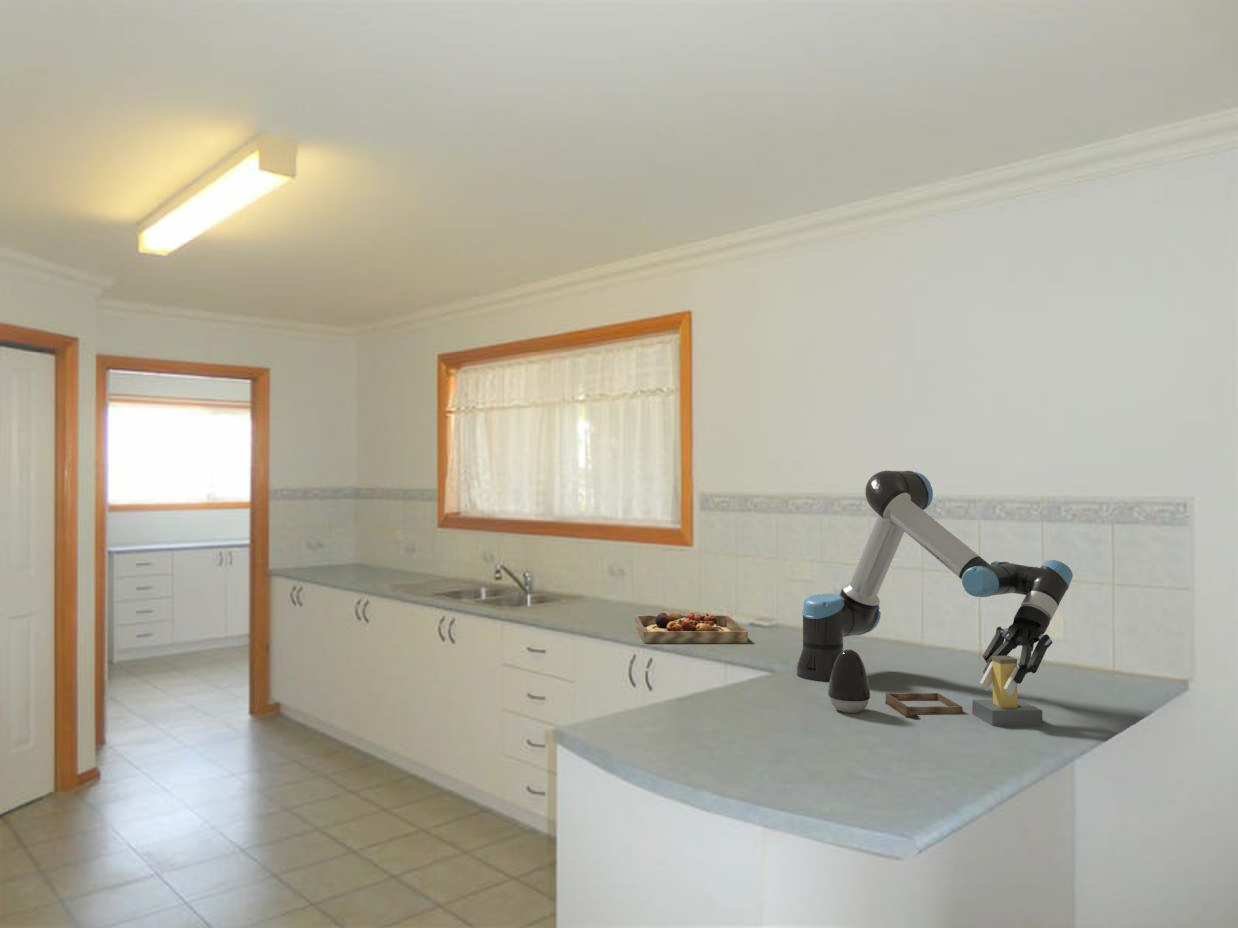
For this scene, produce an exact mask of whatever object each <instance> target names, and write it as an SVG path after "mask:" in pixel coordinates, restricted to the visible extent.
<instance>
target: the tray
mask: <svg viewBox="0 0 1238 928" xmlns="http://www.w3.org/2000/svg"><path fill="white" fill-rule="evenodd" d="M901 700H902V701H904V700H905V701H910V700H911V701H914V700H915V701H916V700H917V701H918V700H919V701H921V700H922V701H924V700H927V701H930V700H932V701H934V700H936V701H939V702H940V703H942V704H943V705H945V706H942V705H941V706H939V705H938V706H934V705H933V706H928V705H927V706H908V705H906V704H905V703H904V702H902V701H901ZM885 704H886V705H888V706H889V707H890V708H892V709H893V710H895V711H897V712H898V713H899V714H900V715H902V716H904V717H905V718H920V716H919V715H918V714H920V715H921V714H923V715H924V714H931V715H932V714H963V707H964V706H962V705H960V704H958V703H957V702H955V701H953V700H952V699H949V698H948V697H946V696H944V695H943V694H941V693H939V692H912V693H911V692H910V693H909V692H898V693H897V692H892V693H891V692H890V693H889V692H886V693H885Z"/></svg>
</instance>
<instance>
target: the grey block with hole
mask: <svg viewBox="0 0 1238 928" xmlns="http://www.w3.org/2000/svg"><path fill="white" fill-rule="evenodd" d="M971 709H972V712H971V714H972V715H973V716H975V717H977V718H978V719H980V720H982V721H983V722H985V723H987V724H988V725H990V726H992V727H995V726H996V727H1004V726H1005V727H1009V726H1010V727H1014V726H1015V727H1016V726H1017V727H1021V726H1022V727H1023V726H1028V727H1029V726H1032V727H1033V726H1035V727H1036V726H1043V709H1040V708H1039V707H1036V706H1034V705H1032V704H1030V703H1029V702H1026V701H1024V700H1022V699H1018V708H1001V707H999V706H998V705H996V704H994V703H993V699H972V707H971Z"/></svg>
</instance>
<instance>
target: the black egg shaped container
mask: <svg viewBox="0 0 1238 928" xmlns="http://www.w3.org/2000/svg"><path fill="white" fill-rule="evenodd" d="M868 677H869V676H868V675H867V670H866V667H865V664H864V662H863V660H862V657H861V656H860V654H859V653H858V652H857V651H855V650H853V649H843V651H842V652H841V653H840V654H839V655H838V657H837V659H836V661H835V663H834V666H833V669H832V673H831V677H830V681H828V682H829V683H828V688H827V689H828V690H827V695H828V697H829V700H830V704H831V705H832V706H833V708H835V709H836V710H837V711H839V712H842V713H847V714H857V713H860V712H862V711H864V710H865V709H866V708H867V706H868V704H869V700H870V698H871V689H870V683H869V678H868Z"/></svg>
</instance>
